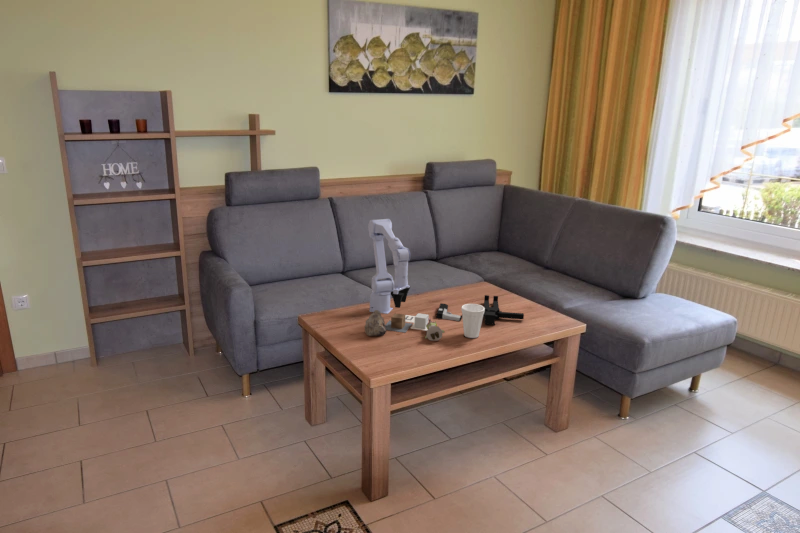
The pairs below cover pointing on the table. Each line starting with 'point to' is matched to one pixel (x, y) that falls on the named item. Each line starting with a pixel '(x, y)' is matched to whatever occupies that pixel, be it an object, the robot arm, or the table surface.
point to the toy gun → (446, 313)
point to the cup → (472, 319)
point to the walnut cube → (398, 321)
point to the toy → (497, 312)
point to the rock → (375, 324)
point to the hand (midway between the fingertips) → (400, 304)
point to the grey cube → (421, 321)
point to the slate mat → (404, 329)
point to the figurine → (433, 331)
